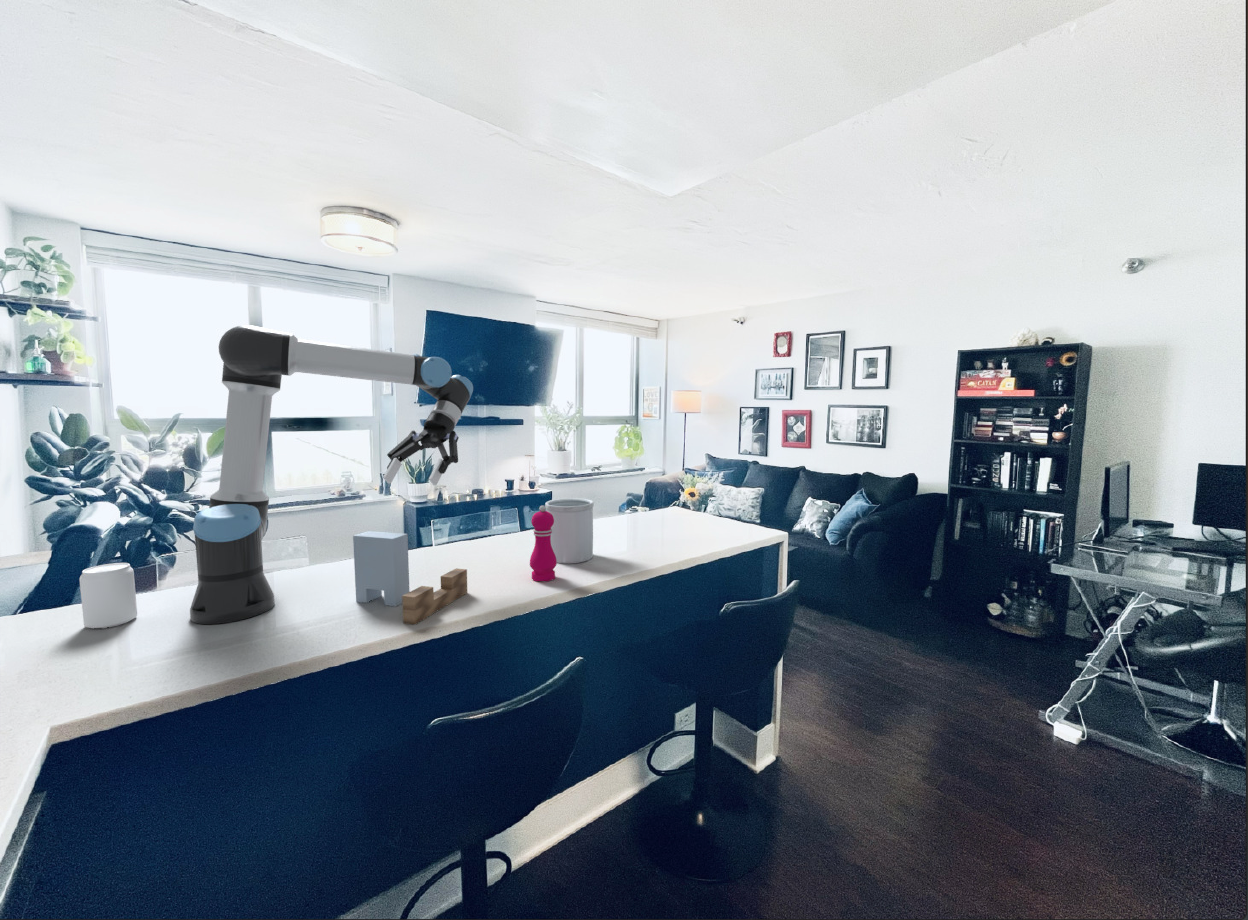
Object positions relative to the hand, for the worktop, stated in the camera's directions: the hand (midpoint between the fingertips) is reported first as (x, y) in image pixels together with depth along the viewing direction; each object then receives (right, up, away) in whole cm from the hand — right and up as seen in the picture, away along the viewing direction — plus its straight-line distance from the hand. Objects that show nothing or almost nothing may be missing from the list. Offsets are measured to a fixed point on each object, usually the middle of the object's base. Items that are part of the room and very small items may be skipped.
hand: (409, 481), depth 131 cm
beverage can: (-55, -29, -21) cm, 66 cm away
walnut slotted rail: (+11, -29, -12) cm, 33 cm away
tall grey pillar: (-3, -28, -8) cm, 29 cm away
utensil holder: (+38, -25, +29) cm, 54 cm away
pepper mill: (+33, -27, +9) cm, 43 cm away
